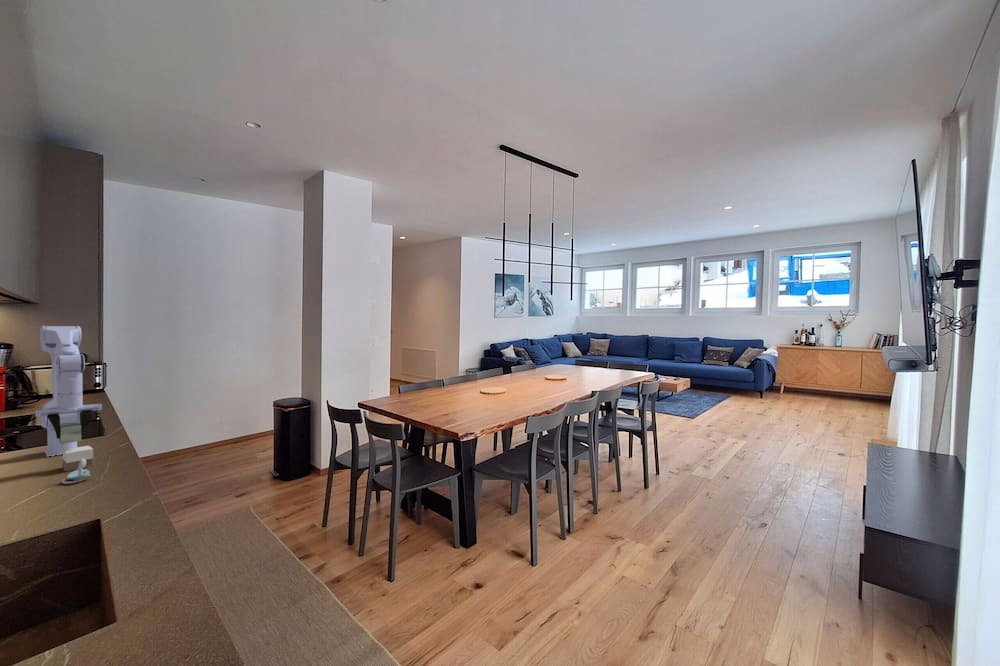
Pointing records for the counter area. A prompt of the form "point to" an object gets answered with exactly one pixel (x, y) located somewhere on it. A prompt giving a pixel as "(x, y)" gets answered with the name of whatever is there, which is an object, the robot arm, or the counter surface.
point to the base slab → (75, 465)
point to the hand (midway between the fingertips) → (70, 436)
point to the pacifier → (77, 474)
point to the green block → (70, 433)
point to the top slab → (77, 454)
